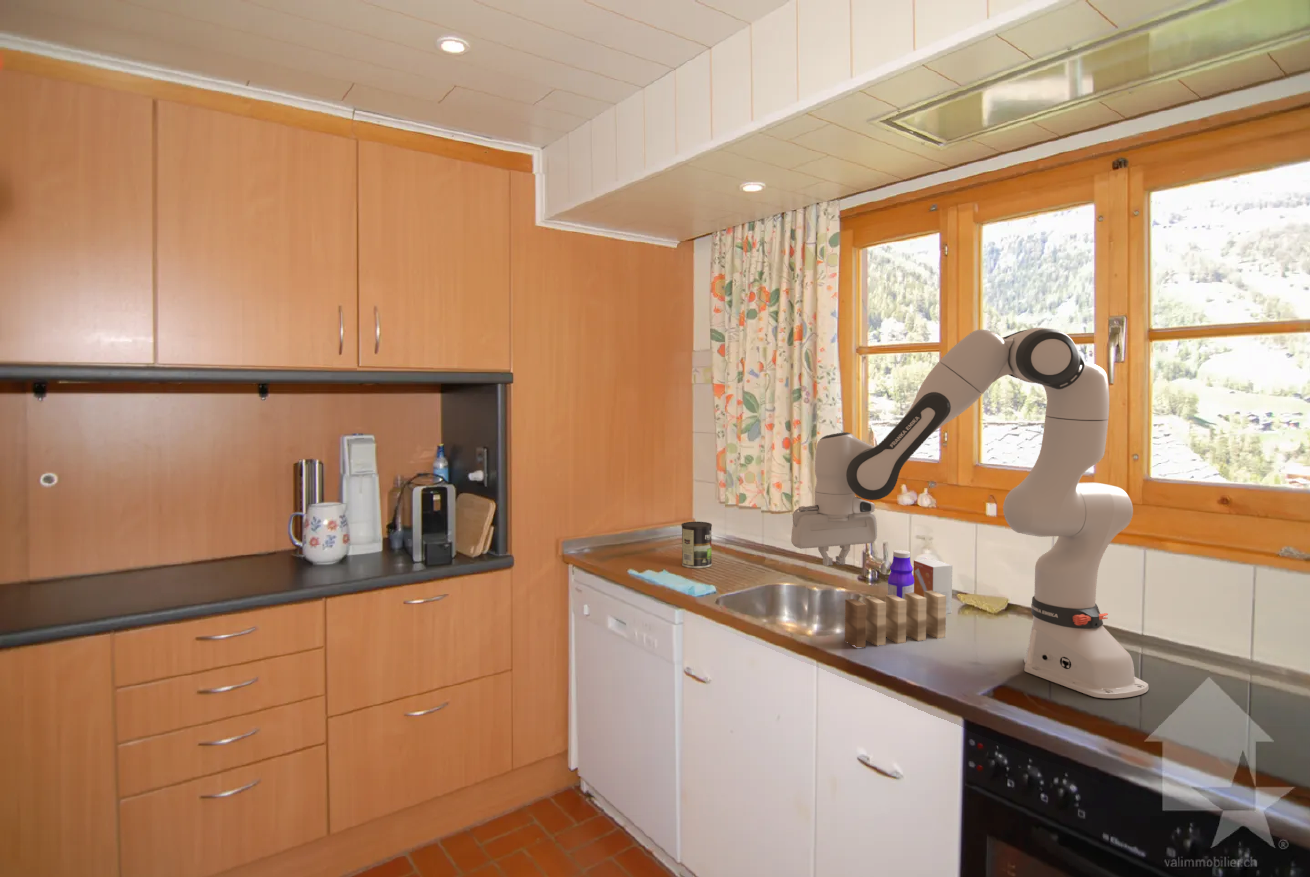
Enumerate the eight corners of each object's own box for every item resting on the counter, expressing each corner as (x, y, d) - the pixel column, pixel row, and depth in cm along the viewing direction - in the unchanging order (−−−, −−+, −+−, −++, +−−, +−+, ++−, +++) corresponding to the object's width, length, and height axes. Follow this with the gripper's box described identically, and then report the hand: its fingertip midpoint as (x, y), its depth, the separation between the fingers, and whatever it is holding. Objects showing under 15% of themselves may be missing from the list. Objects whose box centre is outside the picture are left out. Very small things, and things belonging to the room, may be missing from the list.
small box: (911, 607, 188) (912, 559, 187) (931, 604, 190) (932, 557, 189) (932, 616, 180) (933, 566, 180) (952, 613, 182) (953, 564, 181)
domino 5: (945, 637, 164) (946, 596, 164) (937, 638, 164) (938, 596, 163) (931, 630, 169) (931, 590, 169) (923, 631, 169) (924, 591, 168)
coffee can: (715, 562, 240) (715, 522, 239) (707, 569, 230) (707, 527, 229) (686, 560, 243) (686, 520, 242) (677, 567, 233) (677, 525, 233)
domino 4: (925, 640, 163) (926, 598, 162) (917, 641, 162) (918, 599, 162) (912, 633, 168) (912, 592, 167) (904, 634, 167) (904, 593, 166)
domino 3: (905, 642, 161) (906, 600, 161) (897, 643, 161) (898, 601, 160) (892, 635, 166) (893, 594, 165) (884, 636, 165) (885, 595, 165)
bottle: (896, 612, 183) (897, 547, 182) (917, 617, 179) (918, 550, 178) (883, 618, 178) (884, 552, 177) (904, 623, 174) (905, 555, 173)
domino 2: (885, 645, 160) (886, 602, 159) (877, 646, 159) (877, 603, 158) (872, 638, 164) (873, 596, 164) (864, 639, 164) (865, 597, 163)
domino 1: (865, 648, 158) (865, 604, 157) (856, 649, 157) (857, 605, 157) (853, 640, 163) (853, 598, 162) (844, 641, 162) (845, 599, 162)
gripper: (800, 509, 151) (799, 571, 151) (881, 504, 156) (880, 564, 157) (786, 504, 157) (786, 565, 157) (865, 500, 162) (864, 558, 163)
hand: (834, 564), depth 157 cm, fingers closed
